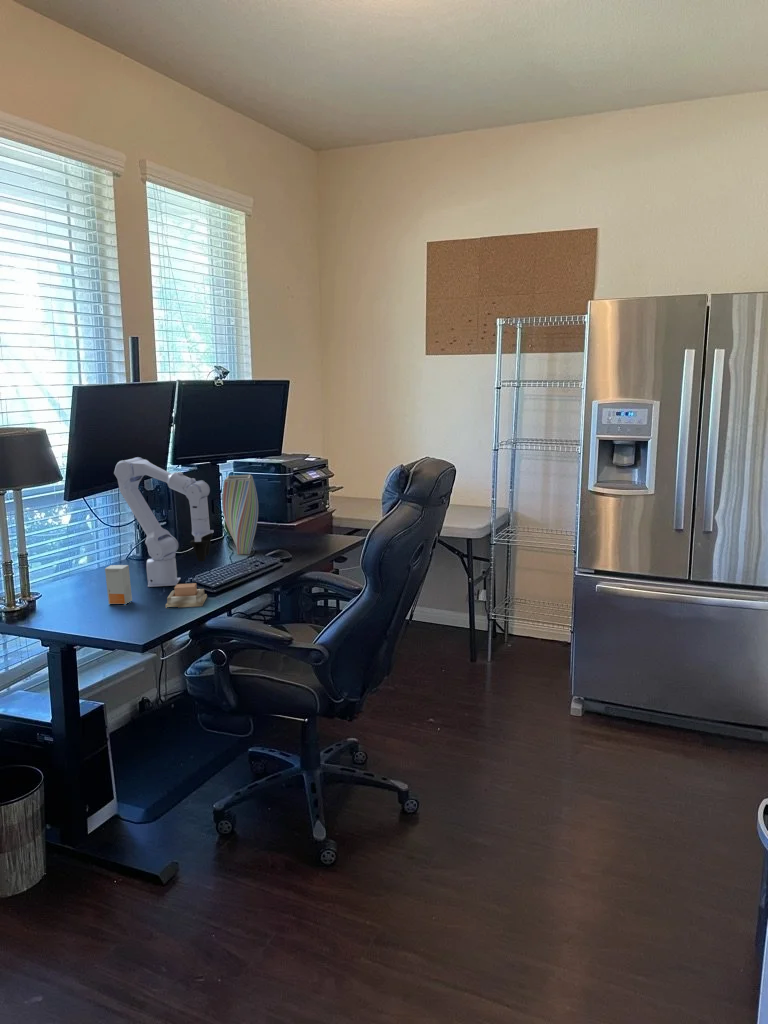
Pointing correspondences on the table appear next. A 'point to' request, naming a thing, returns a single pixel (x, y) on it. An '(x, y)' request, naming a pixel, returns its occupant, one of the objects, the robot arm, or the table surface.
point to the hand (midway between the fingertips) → (203, 558)
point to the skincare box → (118, 584)
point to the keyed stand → (186, 599)
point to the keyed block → (186, 589)
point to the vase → (240, 510)
